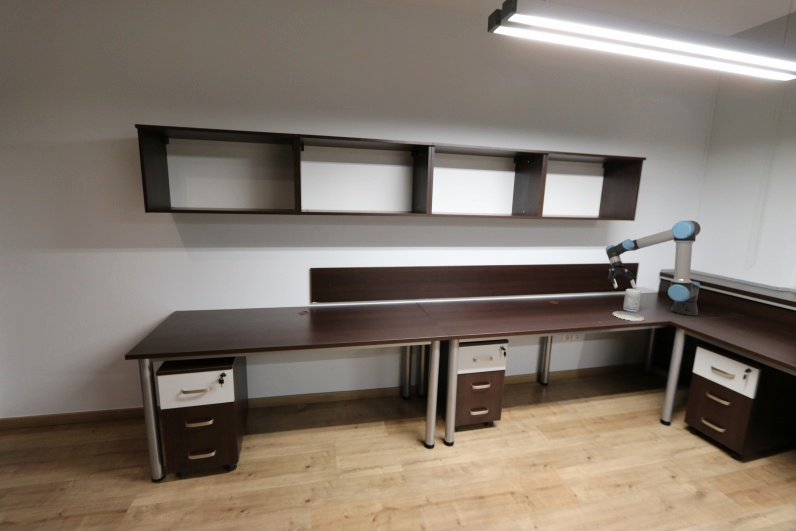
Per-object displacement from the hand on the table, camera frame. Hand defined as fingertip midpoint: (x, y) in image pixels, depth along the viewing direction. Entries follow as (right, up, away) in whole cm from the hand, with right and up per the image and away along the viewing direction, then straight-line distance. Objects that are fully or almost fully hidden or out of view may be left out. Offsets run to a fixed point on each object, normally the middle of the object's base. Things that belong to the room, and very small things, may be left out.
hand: (625, 287), depth 269 cm
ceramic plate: (-12, -18, -22) cm, 31 cm away
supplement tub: (0, -16, -5) cm, 17 cm away
